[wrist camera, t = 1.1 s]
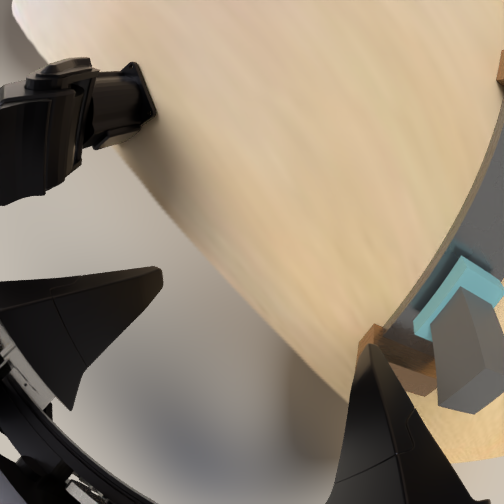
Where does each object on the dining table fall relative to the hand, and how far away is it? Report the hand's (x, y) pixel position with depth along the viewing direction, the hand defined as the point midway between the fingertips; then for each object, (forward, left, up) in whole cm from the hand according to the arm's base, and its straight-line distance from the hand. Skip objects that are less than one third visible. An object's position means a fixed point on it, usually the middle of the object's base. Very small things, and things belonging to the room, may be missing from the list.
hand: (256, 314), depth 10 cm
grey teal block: (+10, +11, -10) cm, 18 cm away
